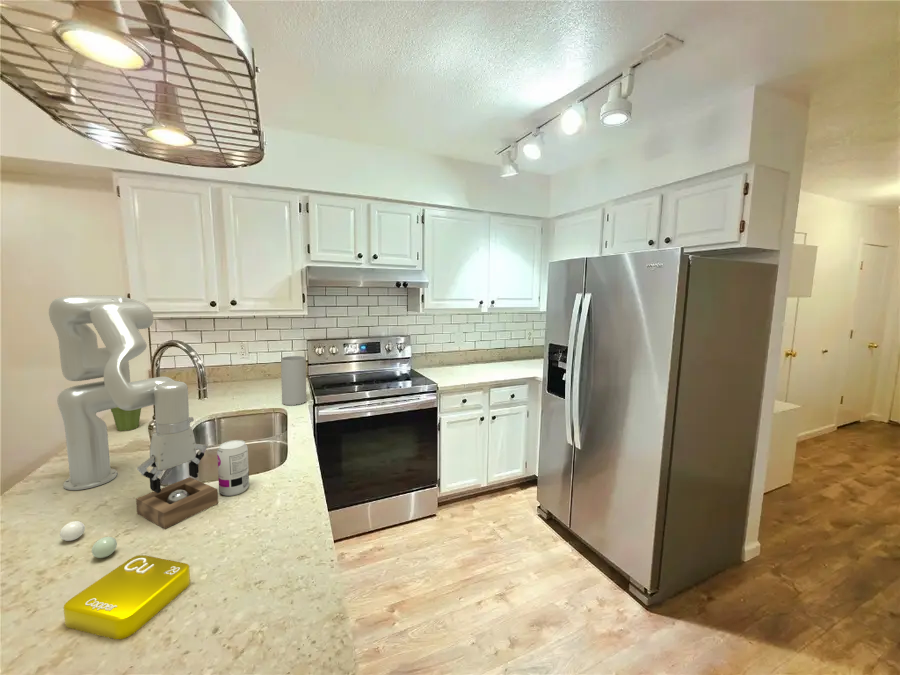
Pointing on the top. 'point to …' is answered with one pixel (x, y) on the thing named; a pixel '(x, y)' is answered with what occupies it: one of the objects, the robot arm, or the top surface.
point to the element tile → (127, 597)
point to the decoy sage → (104, 547)
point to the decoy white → (72, 531)
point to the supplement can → (233, 467)
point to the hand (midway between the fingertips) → (175, 483)
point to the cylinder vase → (293, 380)
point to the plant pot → (126, 418)
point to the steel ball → (177, 496)
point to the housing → (171, 514)
